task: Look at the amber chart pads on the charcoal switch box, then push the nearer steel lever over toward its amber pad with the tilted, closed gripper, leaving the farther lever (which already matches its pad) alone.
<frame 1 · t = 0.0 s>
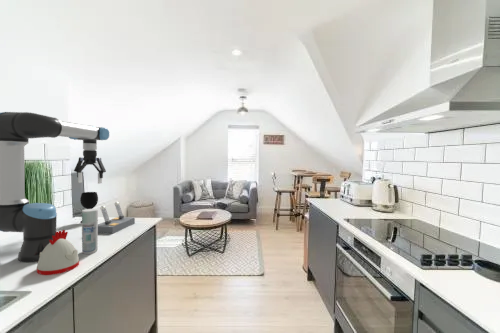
hand: (90, 183, 167), 28 cm above the counter, tool pointing down, fingers open, 13 cm apart
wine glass: (89, 221, 179), on the counter
switch box: (115, 227, 165), on the counter
lever far: (119, 210, 172), point 10 cm above the counter, hinge at -20.0°
lever near: (105, 214, 158), point 10 cm above the counter, hinge at -20.0°
white chicken hat: (58, 267, 106), on the counter
spray can: (90, 251, 124), on the counter
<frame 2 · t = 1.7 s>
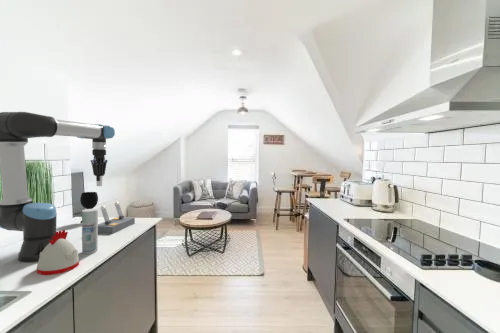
hand: (99, 186, 165), 26 cm above the counter, tool pointing down, fingers closed
nothing on the counter moved.
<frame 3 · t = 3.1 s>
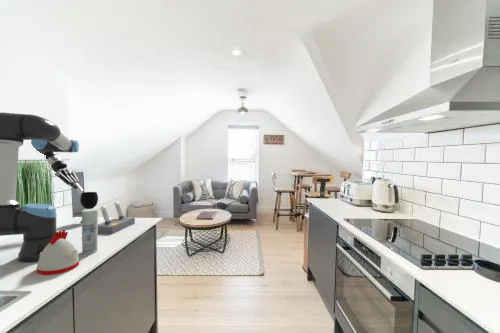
hand: (81, 191, 159), 23 cm above the counter, tool tilted 45°, fingers closed
nothing on the counter moved.
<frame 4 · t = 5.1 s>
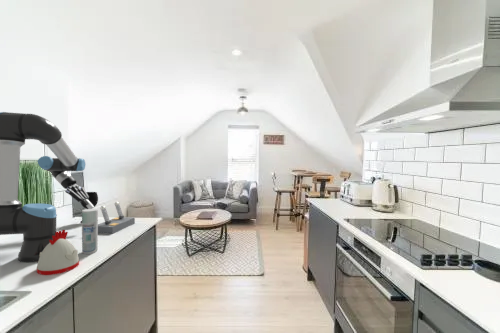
hand: (92, 208, 159), 13 cm above the counter, tool tilted 45°, fingers closed
nothing on the counter moved.
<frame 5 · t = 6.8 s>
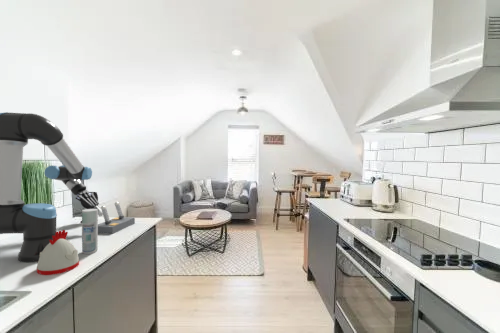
hand: (102, 214, 158), 10 cm above the counter, tool tilted 45°, fingers closed
lever near: (105, 214, 158), point 10 cm above the counter, hinge at -18.3°, touching gripper
everything else where it was.
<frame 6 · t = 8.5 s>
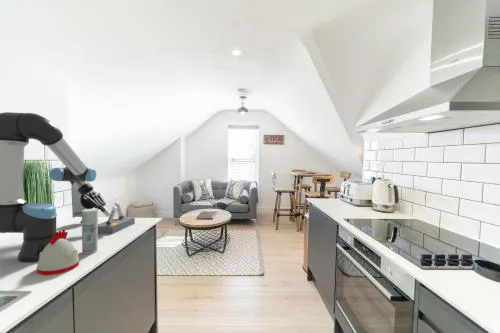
hand: (109, 214, 157), 10 cm above the counter, tool tilted 45°, fingers closed
lever near: (112, 215, 157), point 10 cm above the counter, hinge at 22.2°
everything else where it was.
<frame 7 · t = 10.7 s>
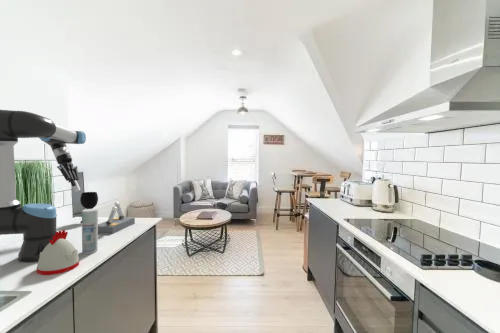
hand: (77, 190, 154), 25 cm above the counter, tool tilted 30°, fingers closed
nothing on the counter moved.
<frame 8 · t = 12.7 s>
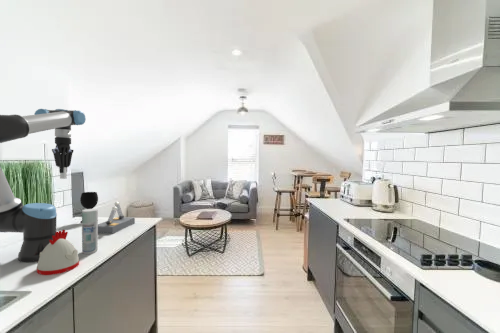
hand: (63, 178, 148), 32 cm above the counter, tool pointing down, fingers closed
nothing on the counter moved.
at the end: lever near at +22° (first picture: -20°); lever far at -20° (first picture: -20°) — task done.
